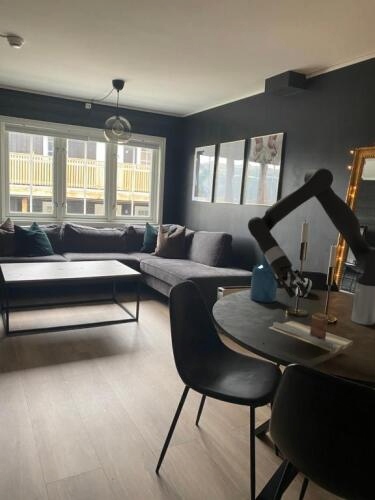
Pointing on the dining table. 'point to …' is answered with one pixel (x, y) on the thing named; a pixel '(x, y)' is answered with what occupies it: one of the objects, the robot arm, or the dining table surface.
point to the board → (339, 343)
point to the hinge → (306, 284)
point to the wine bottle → (263, 283)
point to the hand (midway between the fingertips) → (299, 295)
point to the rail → (304, 335)
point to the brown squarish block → (319, 325)
